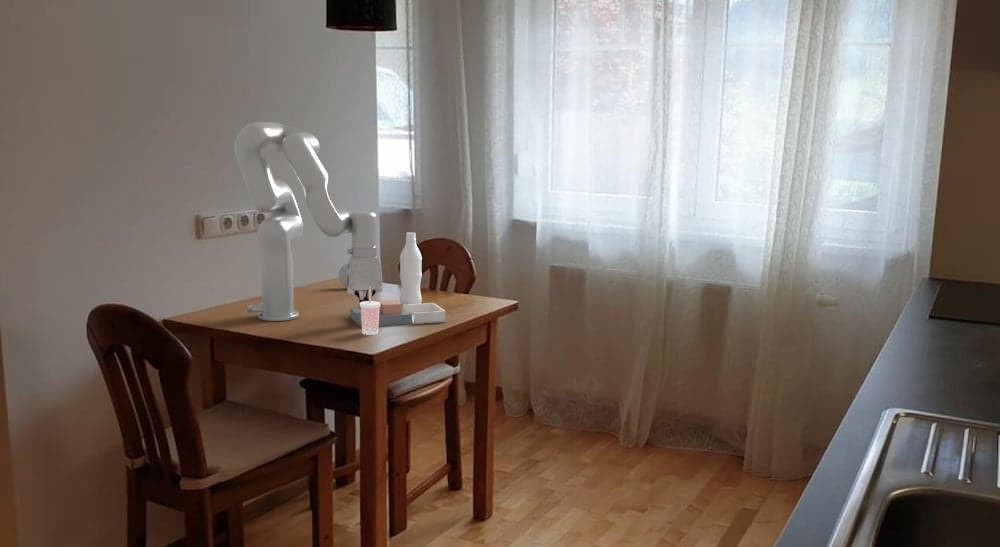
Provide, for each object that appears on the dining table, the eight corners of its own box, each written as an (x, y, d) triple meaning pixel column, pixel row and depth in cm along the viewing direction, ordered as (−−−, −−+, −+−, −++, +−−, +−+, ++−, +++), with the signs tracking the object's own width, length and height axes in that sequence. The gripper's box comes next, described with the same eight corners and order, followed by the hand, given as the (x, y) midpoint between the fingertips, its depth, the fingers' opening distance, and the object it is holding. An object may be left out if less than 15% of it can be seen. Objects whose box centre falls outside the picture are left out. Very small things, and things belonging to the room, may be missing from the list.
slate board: (360, 327, 268) (360, 317, 267) (350, 317, 281) (349, 307, 280) (412, 323, 274) (412, 314, 273) (399, 313, 287) (399, 304, 286)
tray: (414, 324, 273) (414, 313, 272) (402, 315, 284) (403, 304, 284) (445, 322, 277) (446, 311, 276) (433, 313, 288) (433, 302, 287)
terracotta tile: (383, 314, 272) (383, 305, 271) (378, 310, 277) (378, 300, 277) (402, 313, 274) (402, 303, 274) (396, 309, 280) (396, 299, 279)
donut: (338, 289, 321) (338, 262, 319) (339, 287, 324) (338, 260, 322) (366, 290, 322) (366, 262, 320) (367, 288, 325) (366, 261, 323)
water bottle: (411, 311, 290) (411, 235, 286) (395, 307, 295) (395, 232, 290) (426, 307, 296) (426, 232, 291) (410, 304, 300) (410, 230, 296)
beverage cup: (373, 336, 258) (373, 289, 255) (355, 334, 260) (355, 287, 258) (384, 331, 264) (384, 285, 261) (366, 329, 266) (366, 283, 263)
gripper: (342, 255, 263) (343, 316, 266) (391, 253, 269) (391, 312, 272) (337, 251, 270) (337, 310, 273) (385, 249, 275) (385, 307, 279)
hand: (364, 311), depth 273 cm, fingers closed
